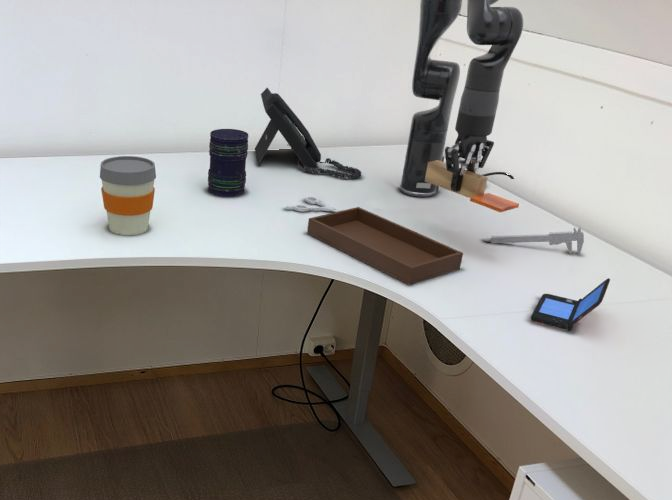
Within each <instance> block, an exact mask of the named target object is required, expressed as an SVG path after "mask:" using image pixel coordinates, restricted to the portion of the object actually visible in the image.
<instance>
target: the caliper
mask: <svg viewBox="0 0 672 500" xmlns="http://www.w3.org/2000/svg"><path fill="white" fill-rule="evenodd" d="M584 235H585V233H584V231H582V228H581V226H579V227H578V229H576V227H575V226H573V232H572V231H554V232H553V231H552V232H549V233H543V234H514V235H512V234H511V235H509V234H508V235H491V237H486V238H484V242H490V244H515V243H548V244H549V246H553V245H556V246H558V245H561V244H565V246H566V248H567V251H568V254H569V255H572V250H573V242H576V253H577V255H579V254H581V252H582V249H583V246H584V242H585V236H584Z"/></svg>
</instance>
